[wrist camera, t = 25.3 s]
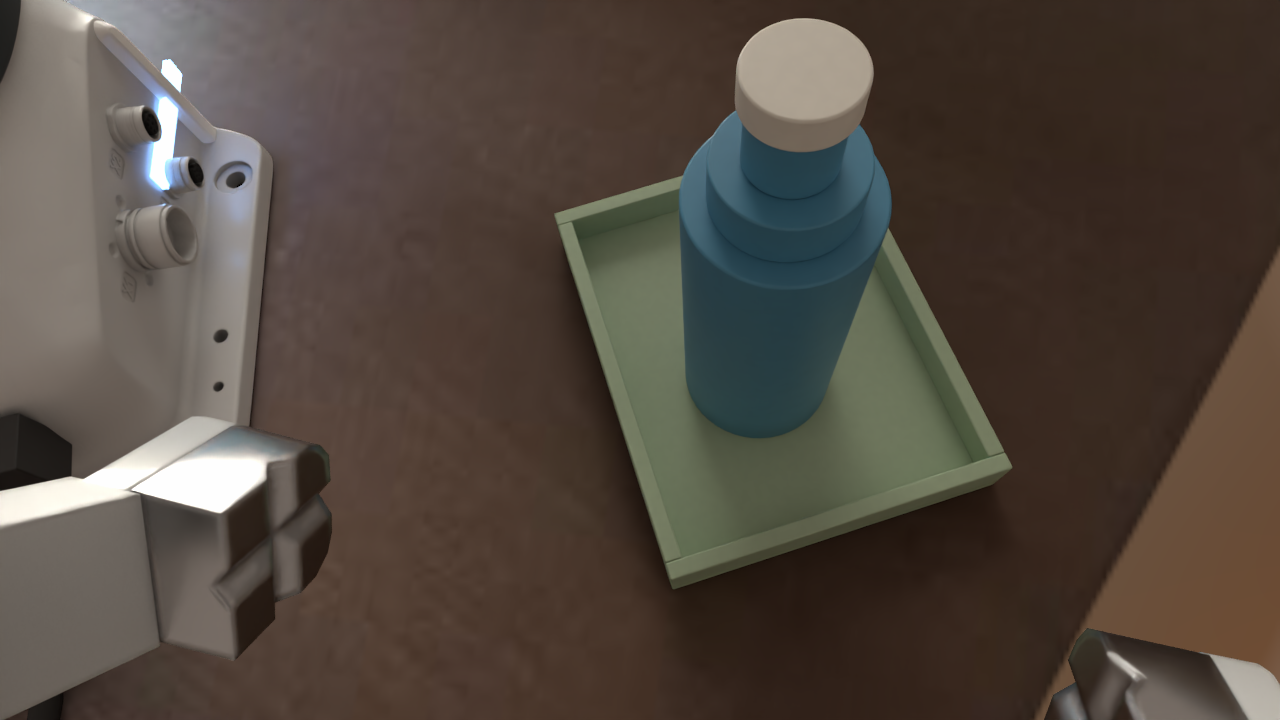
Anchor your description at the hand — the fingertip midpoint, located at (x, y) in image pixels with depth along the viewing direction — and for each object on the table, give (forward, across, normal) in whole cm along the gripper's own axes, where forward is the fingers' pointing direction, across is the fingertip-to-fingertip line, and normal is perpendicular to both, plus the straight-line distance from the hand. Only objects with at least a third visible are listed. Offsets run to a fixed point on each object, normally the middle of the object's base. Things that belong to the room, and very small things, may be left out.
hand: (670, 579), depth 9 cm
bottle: (+22, 0, +7) cm, 23 cm away
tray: (+23, 0, +6) cm, 24 cm away
